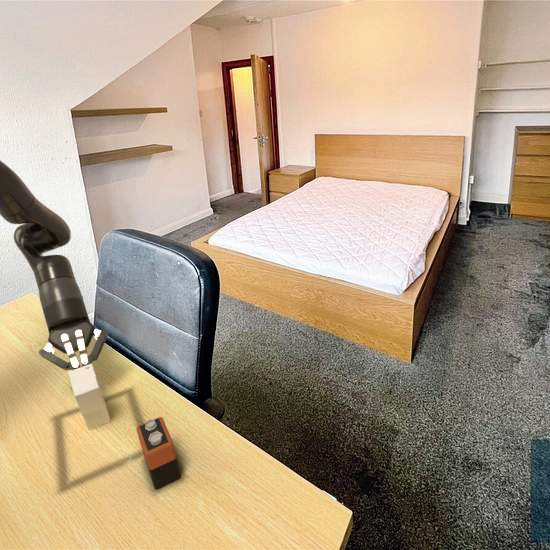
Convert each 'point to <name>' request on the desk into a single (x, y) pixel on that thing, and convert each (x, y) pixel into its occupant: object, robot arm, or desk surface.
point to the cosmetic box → (89, 396)
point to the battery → (159, 452)
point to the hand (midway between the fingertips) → (87, 385)
